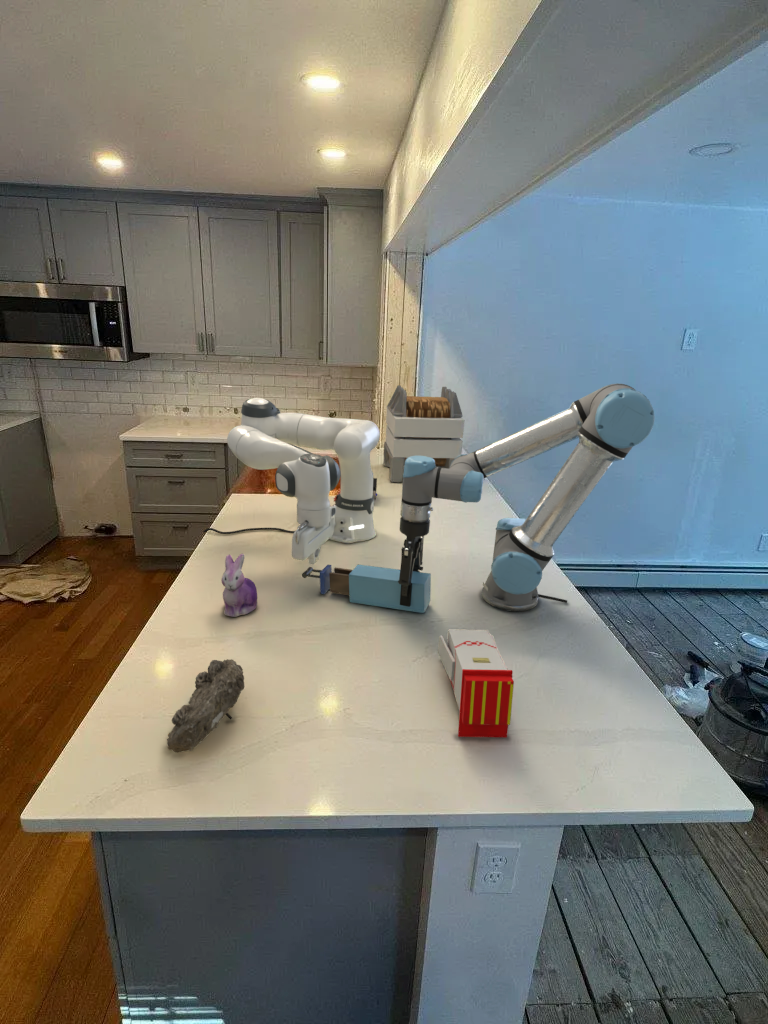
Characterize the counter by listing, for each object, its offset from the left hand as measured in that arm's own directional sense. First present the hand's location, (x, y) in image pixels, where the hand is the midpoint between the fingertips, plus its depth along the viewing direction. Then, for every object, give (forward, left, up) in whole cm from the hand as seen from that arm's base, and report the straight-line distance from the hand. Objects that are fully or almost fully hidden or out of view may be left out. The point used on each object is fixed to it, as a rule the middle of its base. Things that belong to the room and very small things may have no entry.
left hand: (313, 562), depth 156 cm
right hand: (+28, -1, -5) cm, 28 cm away
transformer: (+2, +128, -8) cm, 128 cm away
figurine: (-13, -17, -8) cm, 23 cm away
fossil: (+2, -55, -8) cm, 56 cm away
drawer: (+10, -1, -7) cm, 13 cm away
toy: (+48, -31, -8) cm, 58 cm away
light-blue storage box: (+22, -1, -7) cm, 24 cm away
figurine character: (-9, +81, -8) cm, 82 cm away
